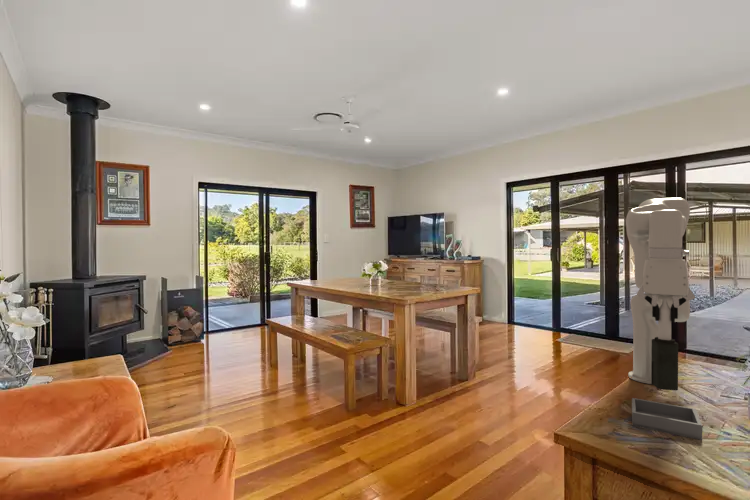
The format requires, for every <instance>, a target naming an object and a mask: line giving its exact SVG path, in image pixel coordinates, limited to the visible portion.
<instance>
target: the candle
mask: <svg viewBox="0 0 750 500" xmlns="http://www.w3.org/2000/svg"><path fill="white" fill-rule="evenodd" d="M666 300H667V298H666V297H664V298H663V302H662V305H661V307H660V308H659V320H658V321H657V324H658V337H655V339H652V365H651V384H650V385H653V386H654V387H656V389H658V390H662V391H663V390H665V391H678V390H679V343H678V342H676V339H675V338H674V339H673V338H672V322H671V309H670V308H669V306H668V304H667V301H666Z"/></svg>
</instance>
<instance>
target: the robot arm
mask: <svg viewBox="0 0 750 500" xmlns="http://www.w3.org/2000/svg"><path fill="white" fill-rule="evenodd" d="M690 216H691V207H690V204H689V202H688V201H687V200H686V199H685V198H684V197H683V198H682V197H662V198H650V199H649V198H648V199H646V200H644V201H642V202H641V203H640V204H639V205H638V207H634V208H631V209H630V210H629V211H628V212H627V214H626V217H625V227H626V229H625V231H626V235H627V240H628V242H629V244H630V246H631V248H632V251H633V256H634V257H633V259H634V282H635V283H634V284H635V286H636V288H637V289H638V291H637V292H636V294H635V295H633V296H632V298H631V299H630V309H631V315H632V330H633V331H632V333H633V335H632V336H633V337H632V339H633V340H632V341H633V343H632V344H633V345H632V349H633V350H632V351H633V353H632V355H633V356H632V357H633V359H632V360H633V361H632V365H633V366H632V370H631V371H629V372H628V377H629V378H630V379H631V380H633V381H636V382H638V383H642V384H648V385H652V384H651V365H652V339H655V337H658V320H659V308H660V307H661V305H662V302H663V298H664V297H666V298H667V300H666V301H667V304H668V306H669V308H670V309H671V323H676V322H677V323H685V322H687V321H688V320H689V318H690V315H691V307H690V306H691V303H690V302H691V300H694V299H695V298H696V296H695V295H694V293H693V291H692V290H691V288H690V285H689V274H688V268H687V267H688V266H687V262H686V259H683V257H685V256H690V250H686V249H683V237H684V235H685V233H686V229H687V226H688V224H689V223H688V222H689V220H690V219H689V218H690ZM631 377H632V378H631Z"/></svg>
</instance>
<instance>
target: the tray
mask: <svg viewBox="0 0 750 500" xmlns="http://www.w3.org/2000/svg"><path fill="white" fill-rule="evenodd" d="M631 422H632V423H631V425H632V427H636V428H640V429H645V430H650V431H655V432H660V433H665V434H671V435H675V436H680V437H685V438H689V439H695V440H701V441H703V423H702V421H701V419H700V416H699V414H698V411H697V409H696V408H693V407H687V406H681V405H675V404H671V403H664V402H658V401H652V400H648V399H641V398H635V397H632V398H631Z"/></svg>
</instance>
